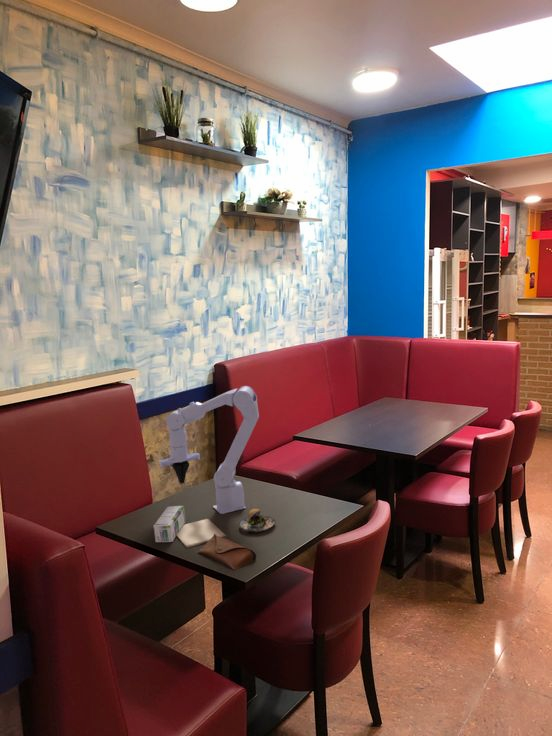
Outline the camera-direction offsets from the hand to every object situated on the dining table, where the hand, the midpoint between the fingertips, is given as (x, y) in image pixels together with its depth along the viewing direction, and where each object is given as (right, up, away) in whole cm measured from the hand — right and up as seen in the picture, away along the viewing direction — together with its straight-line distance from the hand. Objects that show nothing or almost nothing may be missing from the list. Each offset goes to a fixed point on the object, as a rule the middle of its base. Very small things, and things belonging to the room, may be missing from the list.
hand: (181, 482), depth 206 cm
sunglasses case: (+19, -15, -35) cm, 43 cm away
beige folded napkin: (+8, -12, -19) cm, 24 cm away
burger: (+27, -12, -17) cm, 34 cm away
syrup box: (0, -8, -11) cm, 14 cm away
